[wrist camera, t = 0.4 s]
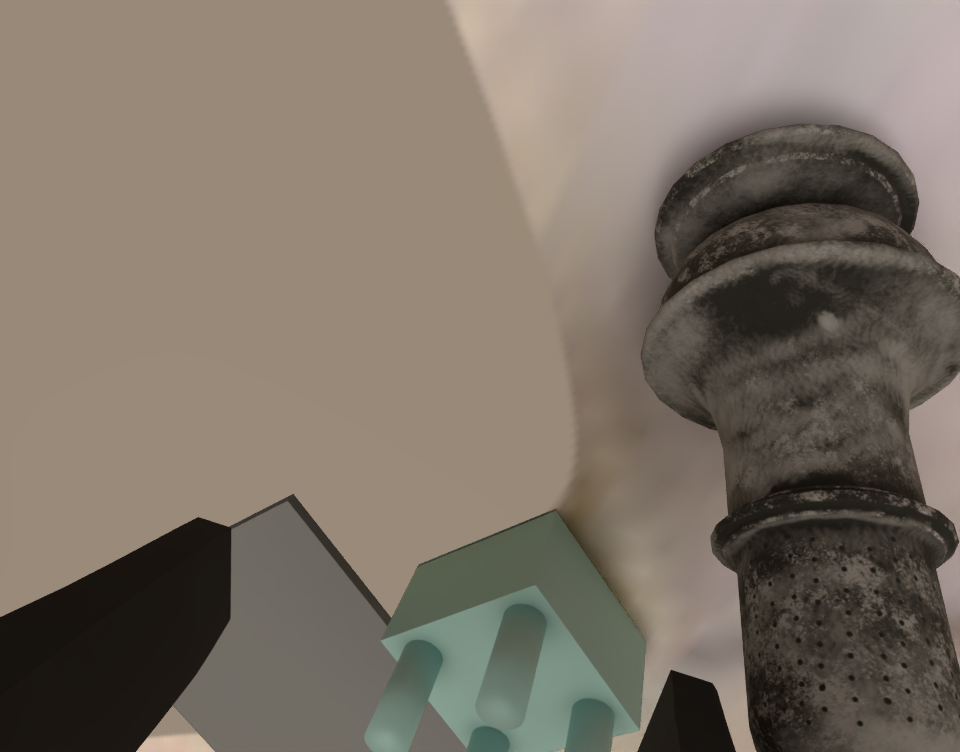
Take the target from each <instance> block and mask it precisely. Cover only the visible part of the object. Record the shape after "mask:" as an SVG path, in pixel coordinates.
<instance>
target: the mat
mask: <svg viewBox="0 0 960 752" xmlns="http://www.w3.org/2000/svg"><path fill="white" fill-rule="evenodd" d="M230 528H231V619H230V621H229V623H228V624H227V626H226V628H225V629H224V631H223V633H222V634H221V636H220V638H219V639H218V641H217V643H216V644H215V646H214V648H213V649H212V651H211V653H210V654H209V656H208V657H207V659H206V660H205V662H204V664H203V665H202V667H201V668H200V670H199V671H198V673H197V675H196V676H195V677H194V679H193V680H192V681H191V682H190V684H189V685H188V686H187V688H186V689H185V690H184V691H183V693H182V694H181V695H180V697H179V698H178V699H177V700H176V702H175V703H174V704H173V706H174V707H175V708H176V709H177V710H178V712H179V713H180V714H181V715H182V716H183V717H184V718H185V719H186V720H187V721H188V722H189V724H190V725H191V726H192V727H193V728H194V729H195V730H196V731H197V732H198V733H199V735H200V736H201V737H202V738H203V739H204V740H205V741H206V742H207V743H208V744H209V745H210V747H211V748H212V749H213V750H214V751H215V752H372V751H371V750H370V749H369V747H368V746H367V744H366V742H365V739H364V735H365V732H366V730H367V728H368V726H369V723H370V721H371V719H372V717H373V715H374V712H375V710H376V708H377V706H378V704H379V702H380V699H381V697H382V695H383V693H384V691H385V688H386V686H387V684H388V682H389V680H390V678H391V675H392V673H393V671H394V669H395V667H396V665H397V661H396V660H395V658H394V657H393V656H392V655H391V653H390V652H389V651H388V650H387V648H386V647H385V646H384V645H383V643H382V642H381V641H380V640H381V638H382V636H383V634H384V632H385V630H386V628H387V626H388V624H389V622H390V620H391V617H390V616H389V615H388V613H387V612H386V611H385V610H384V609H383V607H382V606H381V604H380V603H379V602H378V601H377V599H376V598H375V597H374V596H373V594H372V593H371V592H370V591H369V589H368V588H367V587H366V586H365V584H364V583H363V582H362V581H361V579H360V578H359V577H358V575H357V574H356V573H355V572H354V570H353V569H352V568H351V566H350V565H349V564H348V563H347V561H346V560H345V559H344V558H343V556H342V555H341V554H340V553H339V551H338V550H337V549H336V548H335V546H334V545H333V544H332V542H331V541H330V540H329V539H328V537H327V536H326V535H325V534H324V532H323V531H322V530H321V529H320V527H319V526H318V525H317V523H316V522H315V521H314V520H313V519H312V517H311V516H310V515H309V513H308V512H307V511H306V510H305V508H304V507H303V506H302V504H301V503H300V502H299V501H298V499H297V498H296V497H295V496H294V494H292V495H290V496H288V497H287V498H285V499H283V500H281V501H279V502H277V503H275V504H273V505H271V506H269V507H267V508H265V509H263V510H261V511H259V512H257V513H255V514H253V515H251V516H249V517H248V518H246V519H243V520H242V521H240V522H238V523H236V524H234V525H232V526H230ZM466 751H467V748H466V747H465V746H464V744H463V743H462V742H461V741H460V739H459V738H458V737H457V736H456V734H455V733H454V732H453V731H452V729H451V728H450V727H449V726H448V725H447V723H446V722H445V721H444V720H443V718H442V717H441V716H440V715H439V713H438V712H437V711H436V710H435V708H434V707H433V706H432V705H431V703H430V702H429V701H428V702H427V704H426V707H425V709H424V712H423V714H422V717H421V720H420V722H419V725H418V727H417V730H416V733H415V735H414V738H413V740H412V743H411V745H410V748H409V751H408V752H466Z"/></svg>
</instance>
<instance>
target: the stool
mask: <svg viewBox="0 0 960 752" xmlns="http://www.w3.org/2000/svg"><path fill="white" fill-rule="evenodd" d="M553 510H554V509H553ZM553 510H551V511H548V512H546V513H543V514H541V515H539V516H536V517H534V518H531V519H529V520H526V521H524V522H521V523H519V524H517V525H514V526H512V527H509V528H507V529H504V530H502V531H499V532H497V533H494V534H492V535H490V536H487V537H485V538H482V539H480V540H477V541H475V542H472V543H470V544H468V545H465V546H463V547H460V548H458V549H455V550H453V551H450V552H448V553H446V554H443V555H441V556H438V557H436V558H433V559H431V560H429V561H426V562H424V563H421V564H419V565H418V567H417V569H416V571H415V573H414V575H413V577H412V579H411V581H410V583H409V585H408V587H407V589H406V591H405V593H404V595H403V597H402V599H401V601H400V603H399V605H398V607H397V609H396V611H395V613H394V615H393V616H392V618H391V620H390V622H389V624H388V626H387V628H386V630H385V632H384V634H383V636H382V638H381V640H380V641H381V642H382V643H383V645H384V646H385V647H386V648H387V650H388V651H389V652H390V653H391V655H392V656H393V657H394V658H395V660H396V661H397V665H396V667H395V669H394V671H393V673H392V675H391V678H390V680H389V682H388V684H387V686H386V688H385V691H384V693H383V695H382V697H381V699H380V702H379V704H378V706H377V708H376V710H375V712H374V715H373V717H372V719H371V721H370V723H369V726H368V728H367V730H366V732H365V735H364V739H365V742H366V744H367V746H368V747H369V749H370V750H371V751H372V752H408V751H409V748H410V745H411V743H412V740H413V738H414V735H415V733H416V730H417V727H418V725H419V722H420V720H421V717H422V714H423V712H424V709H425V707H426V704H427V702H428V701H429V702H430V703H431V705H432V706H433V707H434V708H435V710H436V711H437V712H438V713H439V715H440V716H441V717H442V718H443V720H444V721H445V722H446V723H447V725H448V726H449V727H450V728H451V729H452V731H453V732H454V733H455V734H456V736H457V737H458V738H459V739H460V741H461V742H462V743H463V744H464V746H465V747H466V748H467V751H466V752H552V751H556V750H560V749H564V748H565V752H611V746H612V737H614V736H618V735H623V734H627V733H631V732H635V731H639V730H640V721H641V707H642V693H643V679H644V665H645V651H646V641H645V639H644V638H643V636H642V635H641V634H640V632H639V631H638V629H637V628H636V626H635V625H634V623H633V622H632V620H631V619H630V618H629V616H628V615H627V613H626V612H625V610H624V609H623V607H622V606H621V604H620V603H619V602H618V600H617V599H616V597H615V596H614V594H613V593H612V591H611V590H610V588H609V587H608V586H607V584H606V583H605V581H604V580H603V578H602V577H601V575H600V574H599V572H598V571H597V570H596V568H595V567H594V565H593V564H592V562H591V561H590V559H589V558H588V556H587V555H586V554H585V552H584V551H583V549H582V548H581V546H580V545H579V543H578V542H577V540H576V539H575V538H574V536H573V535H572V533H571V532H570V530H569V529H568V527H567V526H566V525H565V523H564V522H563V520H562V519H561V517H560V516H559V514H558V513H557V511H554V512H552V511H553Z"/></svg>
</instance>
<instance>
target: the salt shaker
mask: <svg viewBox="0 0 960 752" xmlns="http://www.w3.org/2000/svg"><path fill="white" fill-rule="evenodd" d="M918 206H919V198H918V193H917V189H916V184H915V179H914V175H913V173H912V172H911V170H910V169H909V167H908V166H907V165H906V163H905V162H904V160H903V159H902V158H901V156H900V155H899V153H898V152H897V151H895V150H894V149H892V148H891V147H889V146H887V145H886V144H884V143H883V142H881V141H880V140H878V139H877V138H875V137H874V136H872V135H869V134H866V133H862V132H859V131H855V130H852V129H848V128H845V127H842V126H835V125H812V124H798V125H792V126H786V127H780V128H774V129H768V130H762V131H759V132H756V133H754V134H751V135H748V136H746V137H743V138H740V139H738V140H735V141H732V142H730V143H727V144H725V145H723V146H722V147H720V148H719V149H717V150H716V151H714V152H712V153H711V154H709V155H708V156H706V157H704V158H703V159H701V160H700V161H698V162H696V163H695V164H694V165H693V166H692V167H691V168H690V169H689V170H688V171H687V172H686V173H685V174H684V175H683V176H682V177H681V178H680V179H679V180H678V181H677V182H676V183H675V184H674V185H673V187H672V188H671V190H670V192H669V194H668V195H667V197H666V199H665V201H664V202H663V204H662V206H661V207H660V209H659V214H658V219H657V224H656V229H655V242H656V248H657V254H658V259H659V261H660V262H661V264H662V266H663V268H664V269H665V271H666V273H667V275H668V276H669V278H671V279H672V282H671V283H670V285H669V287H668V289H667V291H666V293H665V295H664V296H663V298H662V302H661V306H660V310H659V311H658V313H657V314H656V316H655V317H654V319H653V320H652V322H651V323H650V325H649V326H648V328H647V329H646V333H645V338H644V342H643V347H642V351H641V360H642V365H643V370H644V374H645V379H646V381H647V382H648V384H649V385H650V387H651V388H652V390H653V391H654V392H655V394H656V395H657V397H658V398H659V399H660V400H661V401H662V402H664V403H665V404H666V405H668V406H669V407H670V408H672V409H673V410H674V411H676V412H677V413H678V414H680V415H681V416H682V417H684V418H686V419H689V420H691V421H693V422H695V423H698V424H700V425H702V426H705V427H707V428H709V429H713V430H717V431H718V433H719V436H720V440H721V443H722V446H723V450H724V464H725V477H726V491H727V505H728V516H727V517H725V518H724V519H723V520H722V521H720V522H719V523H718V524H717V525H716V527H715V529H714V531H713V533H712V535H711V537H710V538H711V546H712V552H713V554H714V555H715V556H716V558H717V559H718V560H719V561H720V562H721V563H722V564H723V565H724V566H726V567H727V568H729V569H731V570H732V571H734V572H736V573H737V574H738V587H739V600H740V613H741V626H742V639H743V653H744V666H745V679H746V692H747V705H748V718H749V727H750V731H751V735H752V738H753V742H754V745H755V749H756V751H757V752H960V668H959V664H958V660H957V656H956V652H955V647H954V643H953V639H952V635H951V631H950V626H949V622H948V618H947V614H946V610H945V605H944V601H943V597H942V593H941V589H940V584H939V580H938V576H937V572H936V568H938V567H939V566H941V565H942V564H943V563H944V562H946V561H947V560H948V559H949V558H951V557H952V556H953V554H954V552H955V550H956V548H957V545H958V543H959V540H958V536H957V533H956V530H955V526H954V523H952V522H951V521H950V520H949V519H948V518H947V517H946V516H944V515H943V514H942V513H941V512H940V511H938V510H936V509H934V508H932V507H929V506H927V505H926V502H925V498H924V494H923V490H922V485H921V481H920V477H919V473H918V469H917V465H916V461H915V457H914V453H913V448H912V444H911V440H910V436H909V410H911V409H913V408H915V407H917V406H919V405H921V404H923V403H924V402H925V401H927V400H928V399H929V398H931V397H932V396H934V395H935V394H936V393H938V392H939V391H940V390H942V389H943V388H945V387H946V386H947V385H949V384H950V383H951V381H952V380H953V379H954V378H955V377H956V376H957V374H958V373H959V372H960V278H959V276H958V275H957V274H955V273H954V272H952V271H950V270H949V269H947V268H945V267H944V266H942V265H940V264H939V263H937V262H936V261H935V259H934V258H933V257H932V255H931V254H930V253H929V252H928V250H927V249H926V248H925V247H924V246H923V245H921V244H920V243H919V242H918V241H917V240H915V239H914V238H913V237H912V236H910V234H911V232H912V230H913V229H914V226H915V221H916V216H917V211H918Z"/></svg>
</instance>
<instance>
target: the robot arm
mask: <svg viewBox="0 0 960 752" xmlns="http://www.w3.org/2000/svg"><path fill="white" fill-rule="evenodd" d="M230 619H231V528H230V527H227V526H224V525H220V524H218V523H215V522H211V521H209V520H205V519H202V518H199V517H198V518H196V519H194V520H192V521H190V522H188V523H186V524H184V525H182V526H180V527H178V528H176V529H174V530H172V531H171V532H169V533H167V534H165V535H163V536H161V537H159V538H158V539H156V540H154V541H152V542H150V543H148V544H146V545H144V546H142V547H141V548H139V549H137V550H135V551H133V552H131V553H129V554H128V555H126V556H124V557H122V558H120V559H118V560H116V561H114V562H113V563H111V564H109V565H107V566H105V567H103V568H101V569H99V570H97V571H95V572H93V573H91V574H89V575H87V576H85V577H83V578H81V579H79V580H77V581H76V582H74V583H72V584H70V585H68V586H66V587H64V588H62V589H59V590H57V591H55V592H53V593H51V594H49V595H47V596H45V597H42V598H40V599H38V600H36V601H34V602H32V603H30V604H28V605H26V606H23V607H21V608H19V609H17V610H15V611H13V612H10V613H8V614H6V615H4V616H2V617H0V752H136V751H137V750H138V748H139V747H140V746H141V745H142V743H143V742H144V741H145V740H146V738H147V737H148V736H149V735H150V733H151V732H152V731H153V729H154V728H155V727H156V726H157V725H158V723H159V722H160V721H161V719H162V718H163V717H164V715H165V714H166V713H167V712H168V711H169V709H170V708H171V707H172V705H173V704H174V703H175V702H176V700H177V699H178V698H179V697H180V695H181V694H182V693H183V691H184V690H185V689H186V688H187V686H188V685H189V684H190V682H191V681H192V680H193V679H194V677H195V676H196V675H197V673H198V671H199V670H200V668H201V667H202V665H203V664H204V662H205V660H206V659H207V657H208V656H209V654H210V653H211V651H212V649H213V648H214V646H215V644H216V643H217V641H218V639H219V638H220V636H221V634H222V633H223V631H224V629H225V628H226V626H227V624H228V623H229V621H230ZM638 752H736V751H735V748H734V745H733V741H732V738H731V735H730V732H729V729H728V726H727V723H726V719H725V716H724V713H723V709H722V706H721V703H720V699H719V696H718V692H717V690H716V688H715V687H714V685H713V683H710V682H707V681H704V680H701V679H698V678H695V677H692V676H689V675H686V674H682V673H679V672H676V671H673V670H671V671H670V673H669V676H668V678H667V681H666V683H665V686H664V688H663V690H662V693H661V695H660V698H659V700H658V703H657V705H656V708H655V710H654V712H653V715H652V717H651V720H650V722H649V725H648V727H647V730H646V732H645V734H644V737H643V739H642V742H641V744H640V747H639V749H638Z"/></svg>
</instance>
